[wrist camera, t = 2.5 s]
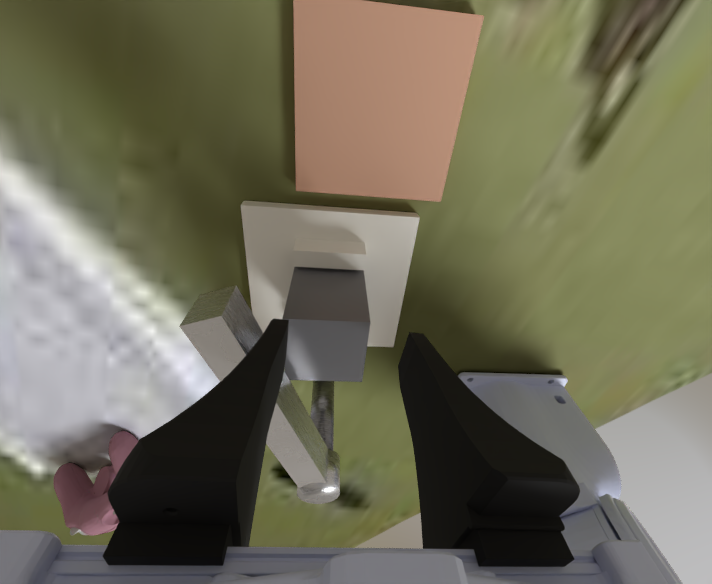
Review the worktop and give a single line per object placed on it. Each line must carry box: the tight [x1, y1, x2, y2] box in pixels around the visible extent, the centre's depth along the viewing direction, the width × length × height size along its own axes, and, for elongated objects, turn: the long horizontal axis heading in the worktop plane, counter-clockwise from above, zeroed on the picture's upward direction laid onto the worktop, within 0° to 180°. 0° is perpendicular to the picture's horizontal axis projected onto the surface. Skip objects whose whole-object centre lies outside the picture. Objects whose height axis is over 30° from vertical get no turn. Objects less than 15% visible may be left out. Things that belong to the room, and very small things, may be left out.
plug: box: [282, 267, 371, 382], centre depth 18 cm, size 4×4×6 cm
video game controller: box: [54, 431, 138, 535], centre depth 30 cm, size 10×5×7 cm, turn 124°
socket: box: [241, 201, 420, 450], centre depth 20 cm, size 10×14×7 cm
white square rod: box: [180, 285, 340, 504], centre depth 16 cm, size 2×14×2 cm, turn 15°
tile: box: [293, 0, 484, 202], centre depth 16 cm, size 8×8×1 cm
